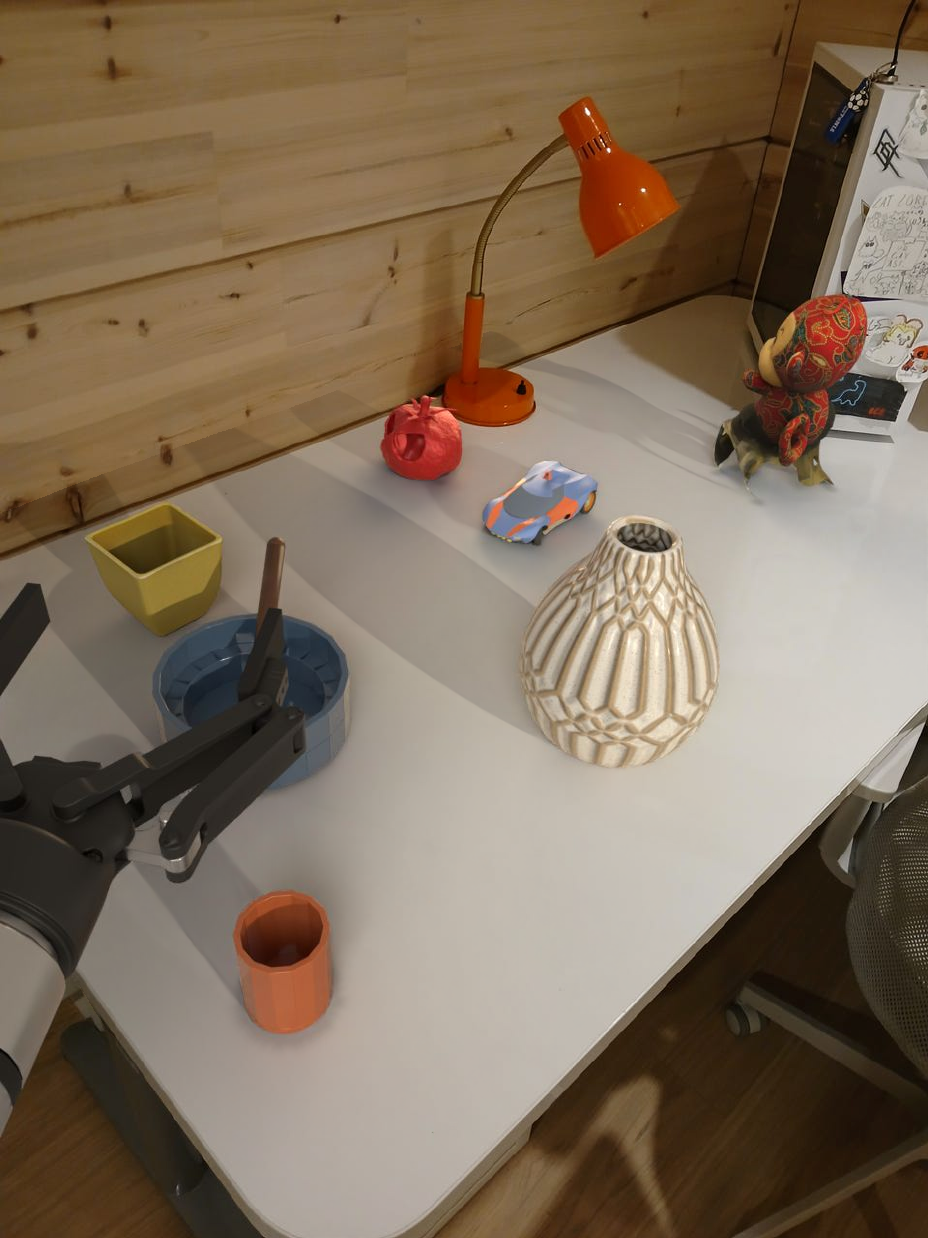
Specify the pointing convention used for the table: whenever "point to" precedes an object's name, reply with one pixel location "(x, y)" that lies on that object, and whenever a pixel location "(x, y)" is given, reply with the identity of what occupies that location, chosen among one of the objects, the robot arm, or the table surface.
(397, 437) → the pomegranate
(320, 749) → the bowl
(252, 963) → the holder
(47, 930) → the robot arm
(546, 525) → the toy car
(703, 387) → the table surface
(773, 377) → the stuffed monkey
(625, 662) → the vase
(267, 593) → the stick
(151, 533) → the flower pot
